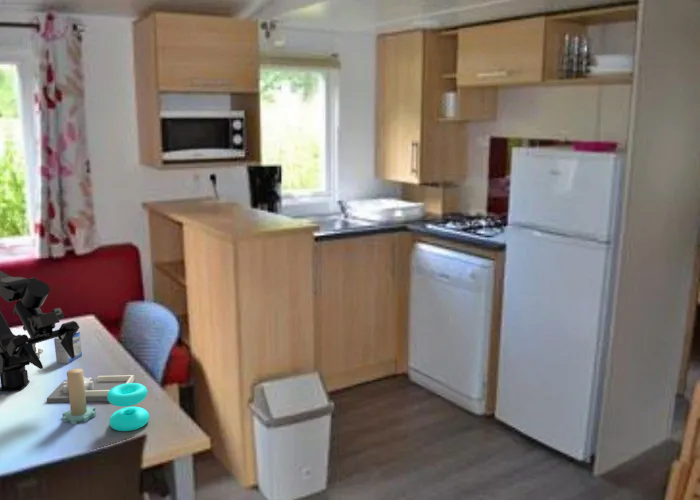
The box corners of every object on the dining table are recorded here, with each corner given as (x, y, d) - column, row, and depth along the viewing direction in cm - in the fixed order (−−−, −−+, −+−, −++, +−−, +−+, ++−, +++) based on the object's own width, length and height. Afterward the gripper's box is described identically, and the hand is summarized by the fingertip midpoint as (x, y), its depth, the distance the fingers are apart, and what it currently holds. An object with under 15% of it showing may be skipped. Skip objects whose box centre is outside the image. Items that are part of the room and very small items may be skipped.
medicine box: (68, 364, 215) (65, 339, 214) (56, 363, 216) (53, 338, 214) (82, 355, 223) (80, 331, 221) (70, 354, 224) (68, 330, 222)
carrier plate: (47, 402, 187) (45, 389, 186) (64, 383, 200) (63, 371, 199) (122, 400, 188) (121, 387, 187) (135, 382, 200) (134, 370, 200)
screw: (24, 358, 221) (38, 354, 225) (32, 361, 218) (46, 357, 222) (20, 321, 218) (34, 317, 222) (28, 324, 215) (42, 320, 219)
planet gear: (57, 424, 174) (52, 378, 171) (69, 409, 182) (65, 365, 179) (89, 423, 174) (85, 377, 171) (100, 409, 182) (96, 365, 180)
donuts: (144, 378, 178) (149, 392, 169) (147, 412, 180) (151, 428, 171) (105, 384, 174) (108, 399, 165) (108, 419, 176) (111, 436, 167)
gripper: (7, 309, 172) (33, 358, 168) (72, 293, 187) (98, 337, 183) (-5, 332, 178) (21, 379, 174) (60, 315, 193) (85, 358, 189)
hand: (58, 363), depth 180 cm, fingers open, 9 cm apart
